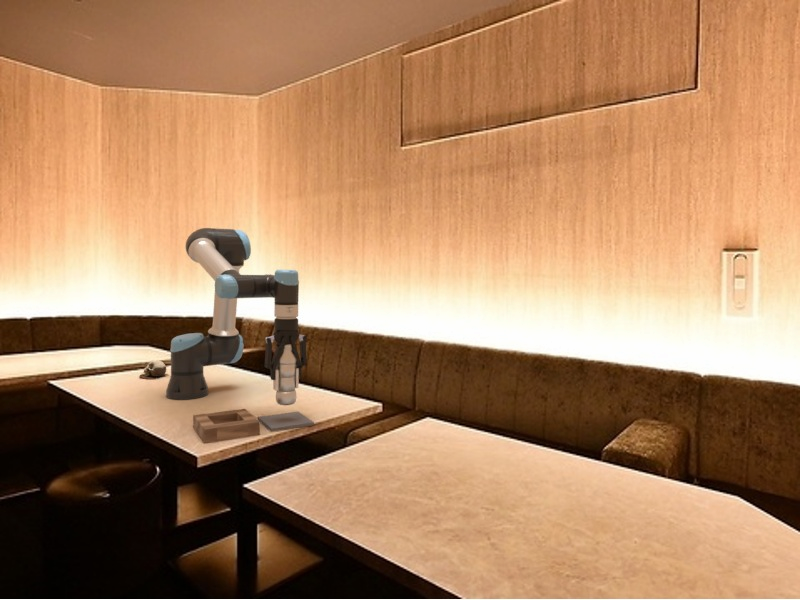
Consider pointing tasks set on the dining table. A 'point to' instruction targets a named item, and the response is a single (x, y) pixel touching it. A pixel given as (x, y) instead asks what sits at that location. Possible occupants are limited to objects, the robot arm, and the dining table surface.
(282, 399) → the plastic bottle
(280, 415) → the charcoal mat
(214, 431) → the walnut block
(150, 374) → the skull
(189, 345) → the robot arm
